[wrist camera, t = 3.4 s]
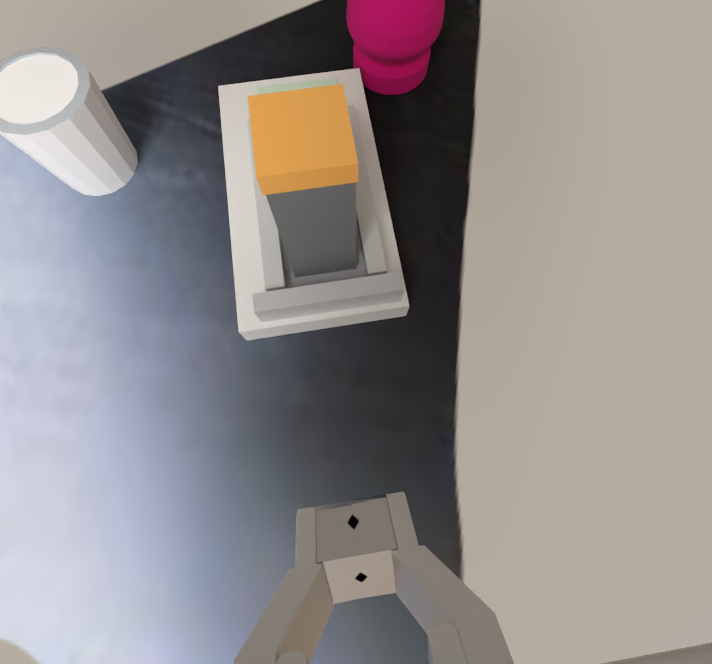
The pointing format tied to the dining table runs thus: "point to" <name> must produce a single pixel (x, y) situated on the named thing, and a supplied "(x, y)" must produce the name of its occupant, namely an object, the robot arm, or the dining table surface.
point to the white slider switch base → (265, 247)
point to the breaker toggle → (308, 174)
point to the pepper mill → (393, 41)
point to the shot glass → (64, 120)
